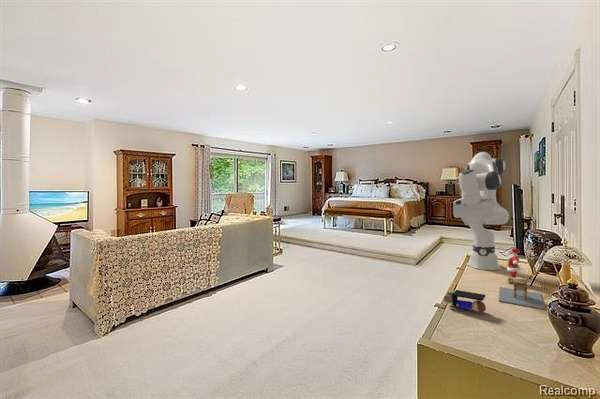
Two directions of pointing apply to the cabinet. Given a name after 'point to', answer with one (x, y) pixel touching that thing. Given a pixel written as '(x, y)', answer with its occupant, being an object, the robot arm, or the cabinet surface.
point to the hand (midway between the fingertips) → (476, 224)
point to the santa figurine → (513, 264)
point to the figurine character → (476, 305)
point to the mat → (521, 298)
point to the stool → (520, 286)
